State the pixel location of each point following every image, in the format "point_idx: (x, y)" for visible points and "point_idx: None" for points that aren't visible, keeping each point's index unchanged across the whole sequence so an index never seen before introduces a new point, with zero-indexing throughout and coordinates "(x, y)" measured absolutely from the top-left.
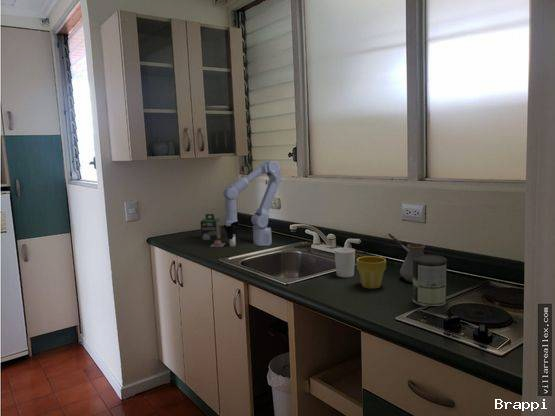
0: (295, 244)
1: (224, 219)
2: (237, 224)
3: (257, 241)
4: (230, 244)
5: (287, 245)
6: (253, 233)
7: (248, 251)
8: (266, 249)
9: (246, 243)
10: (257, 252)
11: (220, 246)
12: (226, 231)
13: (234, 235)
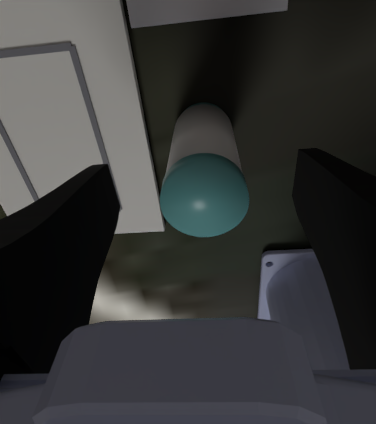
0: None
1: (291, 418)
2: (352, 363)
3: (271, 302)
4: (175, 129)
5: None
6: (320, 336)
7: (104, 262)
8: None
9: None
10: (96, 302)
11: (127, 3)
12: (6, 223)
13: (185, 228)
